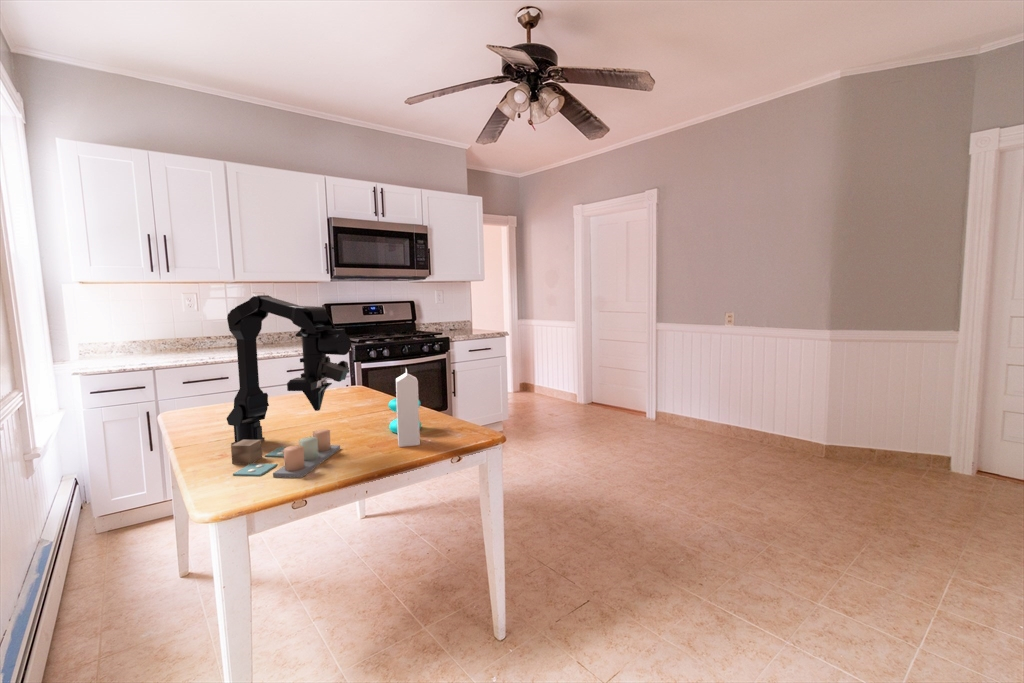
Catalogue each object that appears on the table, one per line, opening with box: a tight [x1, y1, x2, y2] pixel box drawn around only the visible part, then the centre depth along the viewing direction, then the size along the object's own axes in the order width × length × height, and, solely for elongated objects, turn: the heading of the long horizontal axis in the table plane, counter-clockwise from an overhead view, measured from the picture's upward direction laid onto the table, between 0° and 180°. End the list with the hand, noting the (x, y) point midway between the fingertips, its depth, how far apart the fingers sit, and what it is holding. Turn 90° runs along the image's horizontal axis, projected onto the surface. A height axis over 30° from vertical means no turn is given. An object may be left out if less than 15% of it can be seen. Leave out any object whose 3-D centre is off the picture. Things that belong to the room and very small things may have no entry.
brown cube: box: [230, 439, 263, 465], centre depth 123 cm, size 5×5×5 cm
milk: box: [395, 368, 421, 448], centre depth 135 cm, size 6×6×22 cm
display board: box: [272, 428, 341, 479], centre depth 121 cm, size 7×21×6 cm, turn 176°
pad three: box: [265, 446, 287, 458], centre depth 129 cm, size 7×7×1 cm
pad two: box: [232, 462, 278, 477], centre depth 116 cm, size 7×7×1 cm
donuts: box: [388, 398, 422, 434], centre depth 149 cm, size 10×10×10 cm
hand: (317, 410), depth 127 cm, fingers closed
